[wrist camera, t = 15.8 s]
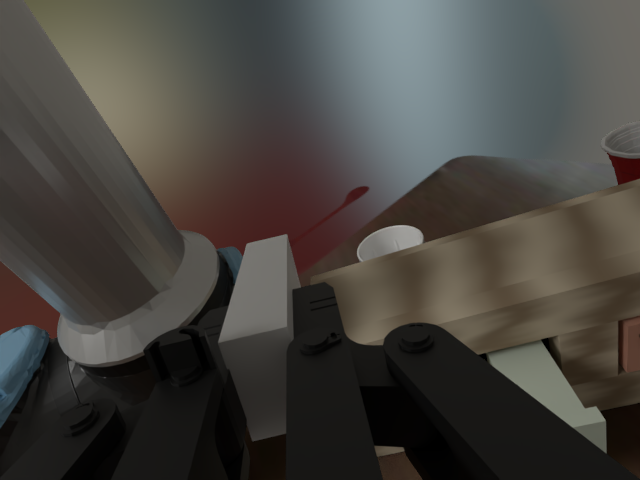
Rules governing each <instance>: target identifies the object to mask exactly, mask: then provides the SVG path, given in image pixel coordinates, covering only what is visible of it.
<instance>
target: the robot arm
mask: <svg viewBox="0 0 640 480" xmlns="http://www.w3.org/2000/svg"><path fill="white" fill-rule="evenodd" d="M0 261H1V262H2V263H4V264H5V265H6V266H7V267H9V269H10V270H12V271H13V272H14V273H15V274H16V275H17V276H18V277H20V278H21V279H22V280H23V281H24V282H25V283H26V284H28V285H29V286H30V287H31V288H32V289H33V290H34V291H36V292H37V293H38V294H39V295H40V296H41V297H42V298H44V299H45V300H46V301H47V302H48V303H49V304H50V305H52V306H53V307H54V308H55V309H56V310H57V311H58V312H60V313H61V315H60V318H59V322H58V330H57V335H58V337H57V338H54V339H50V338H49V334H48V332H47V331H46V330H41V329H39V328H38V327H36V326H33V325H26V326H24V327H17V328H14V329H12V330H10V331H7V332H6V333H4V334H2V335H0V480H248V477H249V467H250V456H249V451H248V448H247V445H246V443H245V440H244V438H245V431H246V424H247V427H248V430H249V433H250V436H251V438H252V441H257V440H261V439H265V438H269V437H274V436H278V435H282V434H286V480H383V478H382V474H381V470H380V467H379V463H378V459H377V455H376V451H375V447H374V446H387V447H403V448H404V451H405V453H406V456H407V457H408V459H409V460H410V462H411V463H412V464H413V466H414V467H415V469H416V470H417V472H418V473H419V475H420V476H421V478H422V479H423V480H640V479H639V478H638V477H636V476H635V475H634V474H632V473H631V472H630V471H629V470H627V469H626V468H625V467H623V466H622V465H621V464H619V463H618V462H617V461H616V460H614V459H613V458H612V457H610V456H609V455H608V454H606V453H605V452H604V451H603V450H601V449H600V448H599V447H597V446H596V445H595V444H593V443H592V442H591V441H590V440H588V439H587V438H586V437H584V436H583V435H582V434H580V433H579V432H578V431H577V430H575V429H574V428H573V427H571V426H570V425H569V424H567V423H566V422H565V421H563V420H562V419H561V418H560V417H558V416H557V415H556V414H554V413H553V412H552V411H550V410H549V409H548V408H547V407H545V406H544V405H543V404H541V403H540V402H539V401H537V400H536V399H535V398H534V397H532V396H531V395H530V394H528V393H527V392H526V391H524V390H523V389H522V388H521V387H519V386H518V385H517V384H515V383H514V382H513V381H511V380H510V379H509V378H508V377H506V376H505V375H504V374H502V373H501V372H500V371H498V370H497V369H496V368H495V367H493V366H492V365H491V364H489V363H488V362H487V361H485V360H484V359H483V358H482V357H480V356H479V355H478V354H476V353H475V352H474V351H472V350H471V349H470V348H468V347H467V346H466V345H465V344H463V343H462V342H461V341H459V340H458V339H457V338H455V337H454V336H453V335H452V334H450V333H449V332H448V331H446V330H445V329H443V328H441V327H439V326H437V325H435V324H429V323H424V322H423V323H421V322H417V323H409V324H406V325H402V326H399V327H397V328H395V329H393V330H392V331H390V332H389V333H388V334H387V336H386V337H385V338H384V342H383V345H364V344H359V343H356V342H354V341H352V340H351V339H349V338H348V337H347V335H346V333H345V331H344V327H343V323H342V319H341V316H340V312H339V308H338V304H337V300H336V296H335V292H334V288H333V287H332V286H330V285H329V284H327V283H326V282H322V283H318V284H313V285H309V286H305V287H301V286H300V282H299V279H298V275H297V271H296V267H295V264H294V259H293V256H292V252H291V248H290V244H289V240H288V237H287V234H286V235H282V236H278V237H273V238H269V239H265V240H260V241H256V242H252V243H248V244H247V245H246V249H245V253H244V256H243V257H242V255H241V253H240V252H239V251H238V249H236V248H235V247H227V248H219V249H218V250H216V249H215V247H214V246H213V244H212V243H211V242H210V241H209V240H208V239H207V238H206V237H204V236H203V235H200V234H198V233H195V232H191V231H184V230H177V229H176V227H175V226H174V224H173V223H172V221H171V220H170V218H169V217H168V215H167V214H166V212H165V211H164V209H163V208H162V206H161V205H160V203H159V202H158V200H157V199H156V197H155V196H154V194H153V193H152V191H151V190H150V188H149V187H148V185H147V184H146V182H145V181H144V179H143V178H142V176H141V175H140V173H139V172H138V170H137V169H136V167H135V166H134V165H133V163H132V161H131V160H130V158H129V157H128V155H127V154H126V152H125V151H124V149H123V148H122V146H121V145H120V143H119V142H118V141H117V139H116V137H115V136H114V135H113V133H112V132H111V130H110V129H109V127H108V126H107V124H106V123H105V121H104V120H103V118H102V117H101V115H100V114H99V112H98V111H97V109H96V108H95V106H94V105H93V103H92V102H91V100H90V99H89V97H88V96H87V94H86V93H85V91H84V90H83V88H82V87H81V85H80V84H79V82H78V81H77V79H76V78H75V76H74V75H73V73H72V72H71V70H70V69H69V67H68V66H67V64H66V63H65V62H64V60H63V58H62V57H61V55H60V54H59V52H58V51H57V49H56V48H55V46H54V45H53V44H52V42H51V40H50V39H49V38H48V36H47V34H46V33H45V32H44V30H43V28H42V27H41V25H40V24H39V23H38V21H37V20H36V18H35V17H34V15H33V14H32V12H31V11H30V9H29V8H28V6H27V5H26V3H25V2H24V0H0Z"/></svg>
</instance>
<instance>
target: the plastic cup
mask: <svg viewBox="0 0 640 480" xmlns="http://www.w3.org/2000/svg"><path fill="white" fill-rule="evenodd" d="M601 147H602V149H603V150H604V151H606V152H607V154H608V155H609V158H610V160H611V161H612V165H613V167H614V169H615V173H616V177H617V181H618V185H621V184H624V183H627V182H631V181H634V180H637V179H640V120H638V121H635V122H631V123H628V124H625V125H623V126H621V127H619V128H617V129H615V130H613V131H610V132H609V133H608V134H607V135H606V136H605V137H604V138H603V139H602V142H601Z"/></svg>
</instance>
